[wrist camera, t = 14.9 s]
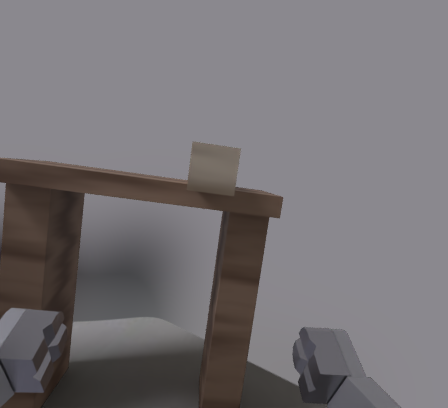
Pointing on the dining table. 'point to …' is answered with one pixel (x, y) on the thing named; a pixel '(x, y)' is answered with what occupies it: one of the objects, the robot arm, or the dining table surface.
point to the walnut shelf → (69, 254)
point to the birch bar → (213, 169)
